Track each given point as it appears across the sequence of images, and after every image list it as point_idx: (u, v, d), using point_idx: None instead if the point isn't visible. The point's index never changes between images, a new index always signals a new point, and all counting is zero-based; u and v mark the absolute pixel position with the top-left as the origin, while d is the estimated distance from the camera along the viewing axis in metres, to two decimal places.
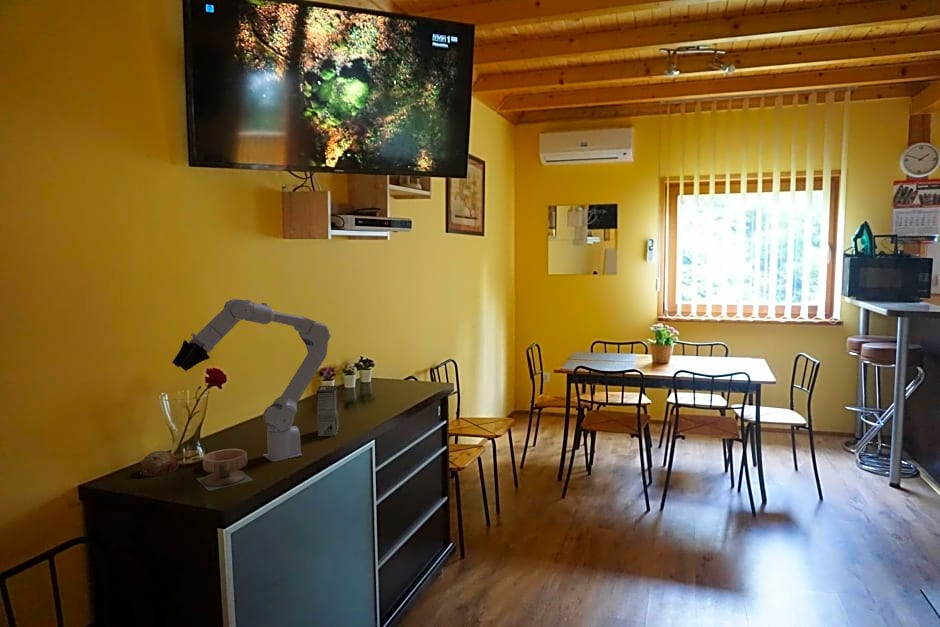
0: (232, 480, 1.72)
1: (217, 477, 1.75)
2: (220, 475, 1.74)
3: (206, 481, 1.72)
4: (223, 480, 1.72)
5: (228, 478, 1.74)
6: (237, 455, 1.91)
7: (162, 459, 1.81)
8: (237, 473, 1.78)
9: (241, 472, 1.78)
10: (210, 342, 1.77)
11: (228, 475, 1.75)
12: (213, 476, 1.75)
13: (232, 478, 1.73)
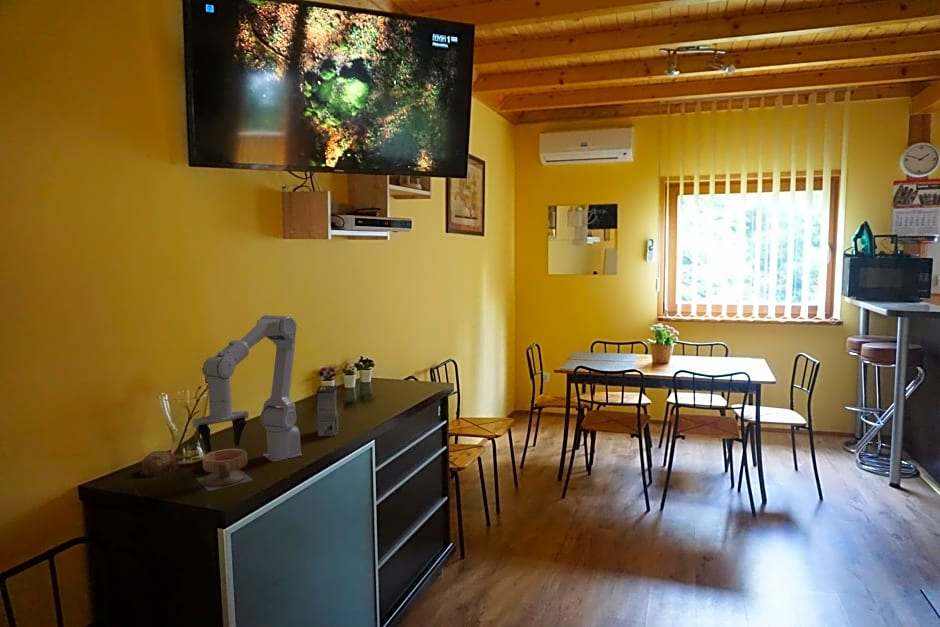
0: (232, 480, 1.72)
1: (217, 477, 1.75)
2: (220, 475, 1.74)
3: (206, 481, 1.72)
4: (223, 480, 1.72)
5: (229, 478, 1.74)
6: (237, 455, 1.91)
7: (162, 458, 1.81)
8: (237, 473, 1.78)
9: (241, 472, 1.78)
10: None
11: (228, 475, 1.75)
12: (213, 476, 1.75)
13: (232, 478, 1.73)
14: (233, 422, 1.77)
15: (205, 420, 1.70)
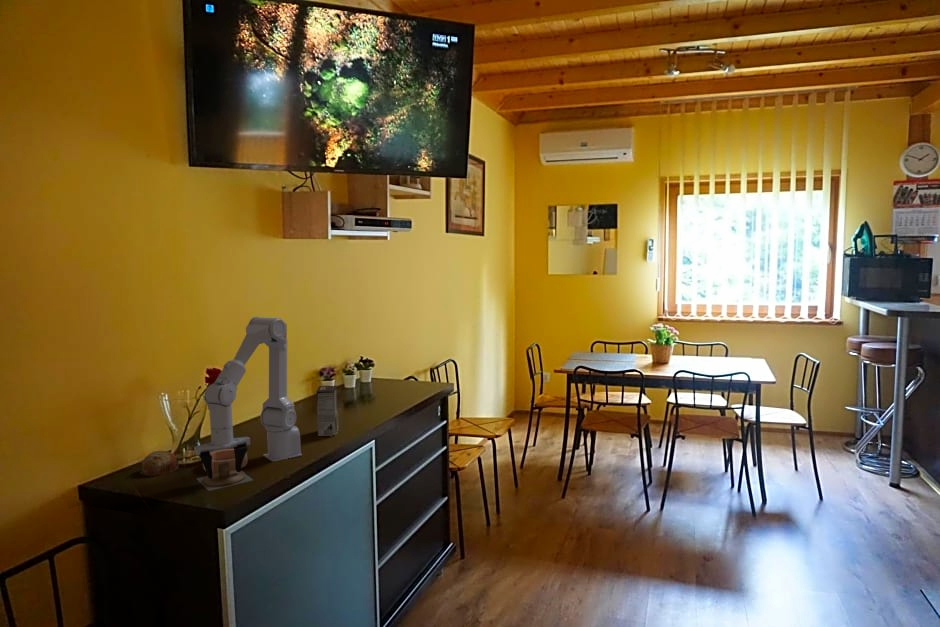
0: (232, 480, 1.72)
1: (217, 477, 1.75)
2: (220, 475, 1.74)
3: (206, 481, 1.72)
4: (223, 480, 1.72)
5: (229, 478, 1.74)
6: None
7: (162, 458, 1.81)
8: (237, 473, 1.78)
9: (241, 472, 1.78)
10: None
11: (228, 475, 1.75)
12: (213, 476, 1.75)
13: (232, 478, 1.73)
14: (234, 448, 1.78)
15: (207, 447, 1.70)
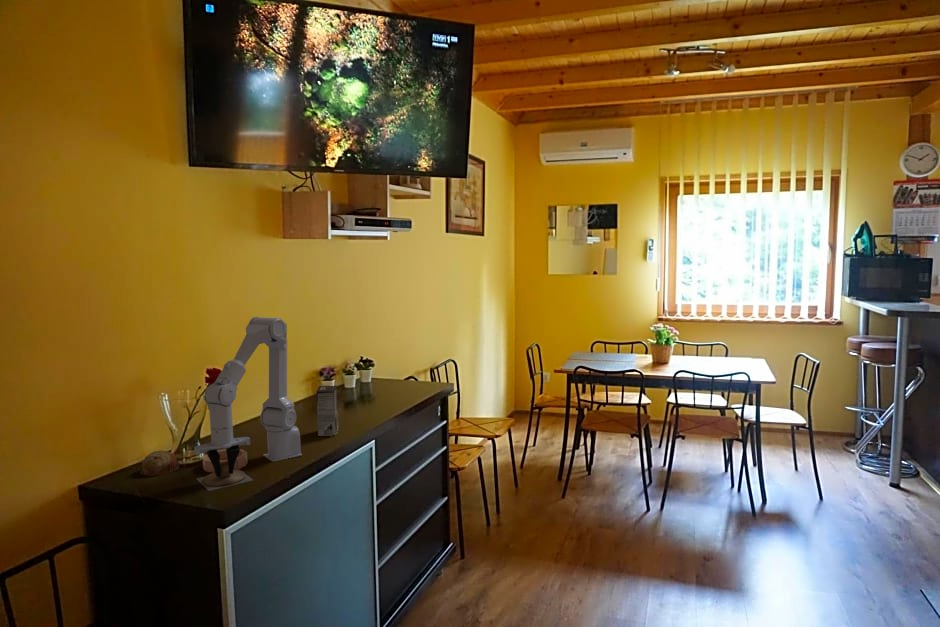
0: (232, 480, 1.72)
1: (217, 477, 1.75)
2: (220, 475, 1.74)
3: (206, 481, 1.72)
4: (223, 480, 1.72)
5: (229, 478, 1.74)
6: None
7: (162, 458, 1.81)
8: (237, 473, 1.78)
9: (241, 472, 1.78)
10: None
11: (228, 475, 1.75)
12: (213, 476, 1.75)
13: (232, 478, 1.73)
14: (227, 450, 1.77)
15: (207, 447, 1.70)
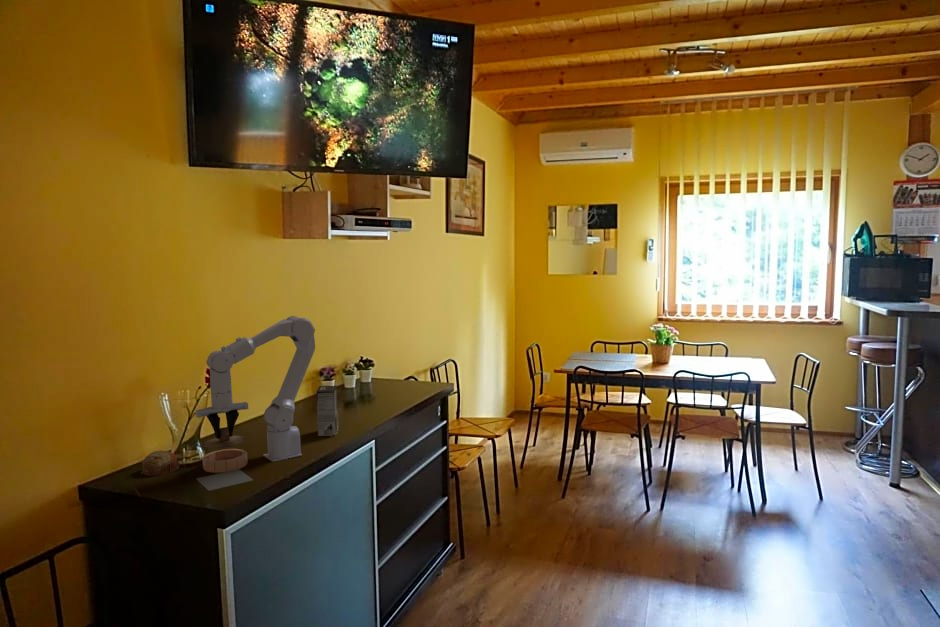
0: (231, 442, 1.82)
1: (218, 441, 1.84)
2: (220, 438, 1.84)
3: (207, 444, 1.81)
4: (223, 443, 1.82)
5: (228, 441, 1.83)
6: (237, 455, 1.91)
7: (162, 458, 1.81)
8: (237, 437, 1.87)
9: (241, 437, 1.88)
10: None
11: (228, 439, 1.84)
12: (214, 440, 1.85)
13: (232, 441, 1.83)
14: (226, 414, 1.87)
15: (207, 411, 1.80)
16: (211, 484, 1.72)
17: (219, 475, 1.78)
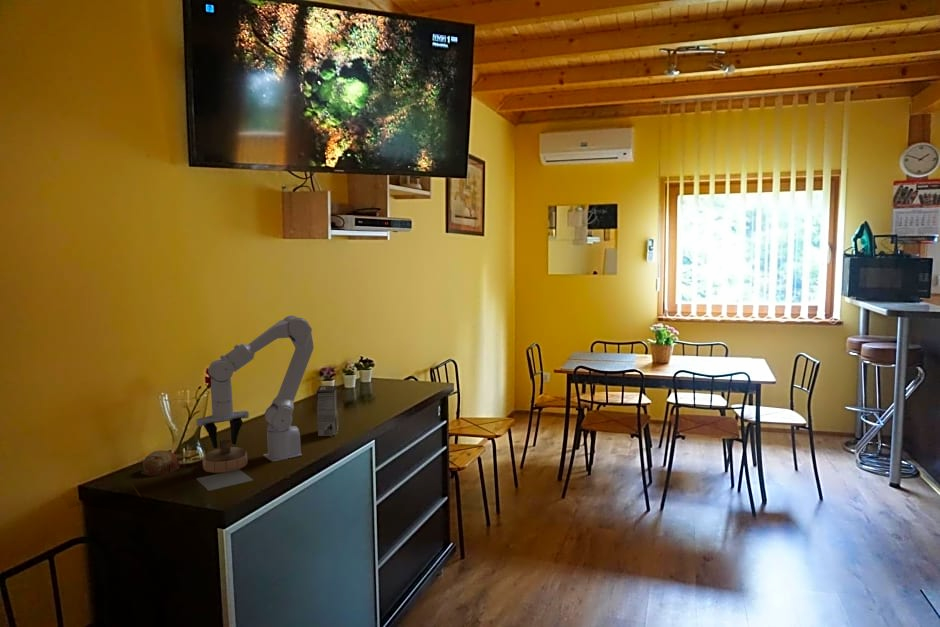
0: (232, 456, 1.83)
1: (218, 453, 1.86)
2: (221, 451, 1.85)
3: (208, 456, 1.83)
4: (223, 456, 1.83)
5: (229, 454, 1.85)
6: None
7: (163, 458, 1.82)
8: (237, 450, 1.89)
9: (241, 449, 1.89)
10: None
11: (229, 451, 1.86)
12: (215, 452, 1.87)
13: (232, 454, 1.85)
14: (230, 422, 1.89)
15: (208, 419, 1.82)
16: (211, 484, 1.72)
17: (219, 475, 1.78)
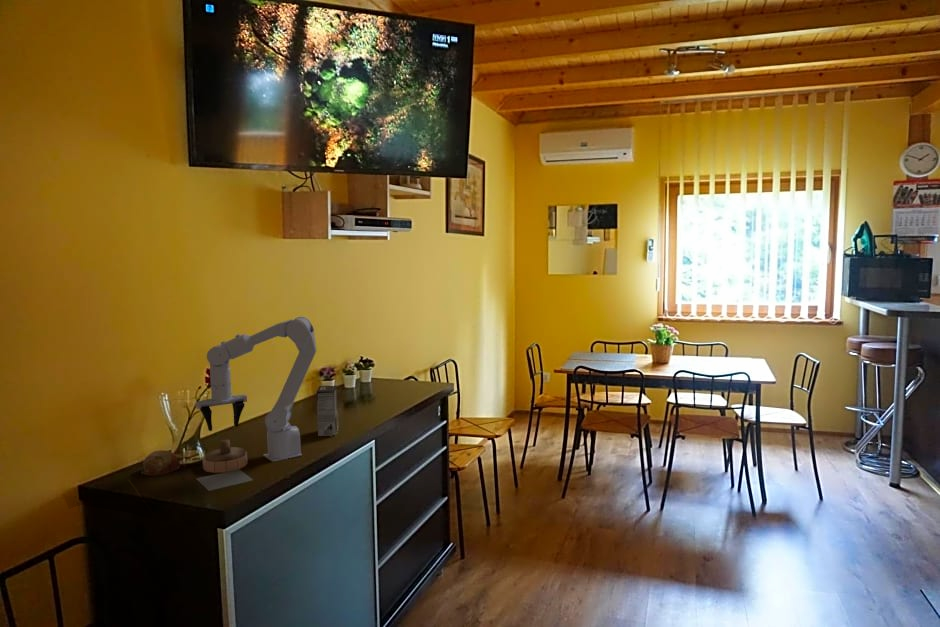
0: (232, 456, 1.83)
1: (218, 453, 1.86)
2: (221, 451, 1.85)
3: (208, 456, 1.83)
4: (223, 456, 1.83)
5: (229, 454, 1.85)
6: None
7: (163, 458, 1.82)
8: (237, 450, 1.89)
9: (241, 449, 1.89)
10: None
11: (229, 451, 1.86)
12: (215, 452, 1.87)
13: (232, 454, 1.85)
14: (233, 405, 1.96)
15: (207, 402, 1.88)
16: (211, 484, 1.72)
17: (219, 475, 1.78)
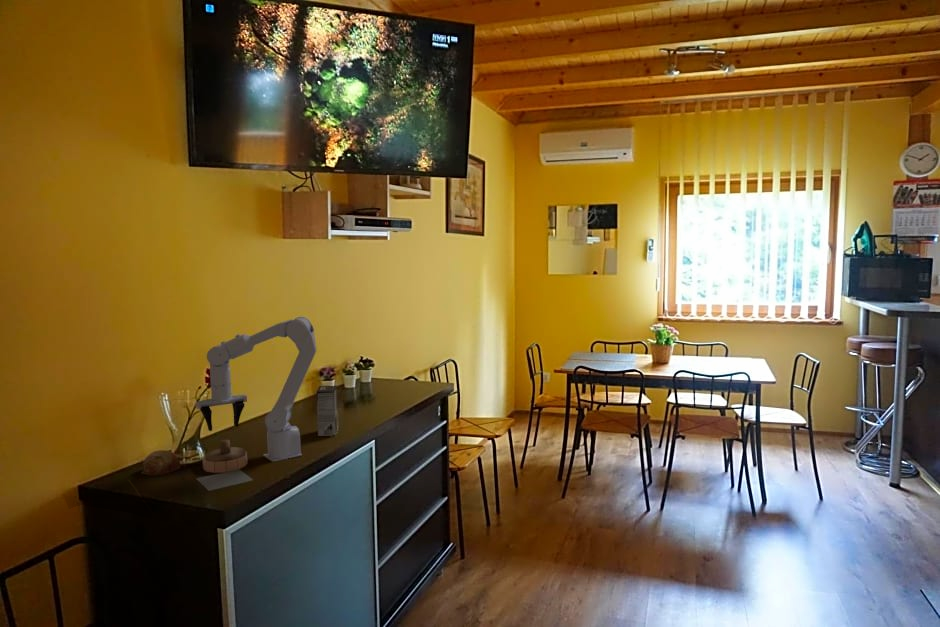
0: (232, 456, 1.83)
1: (218, 453, 1.86)
2: (221, 451, 1.85)
3: (208, 456, 1.83)
4: (223, 456, 1.83)
5: (229, 454, 1.85)
6: None
7: (163, 458, 1.82)
8: (237, 450, 1.89)
9: (241, 449, 1.89)
10: None
11: (229, 451, 1.86)
12: (215, 452, 1.87)
13: (232, 454, 1.85)
14: (233, 405, 1.96)
15: (207, 402, 1.88)
16: (211, 484, 1.72)
17: (219, 475, 1.78)
